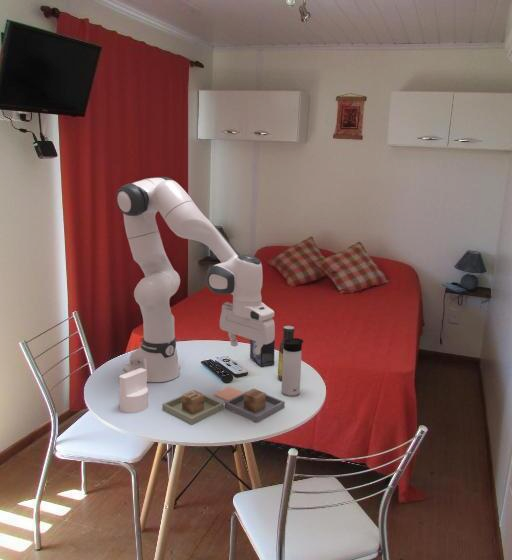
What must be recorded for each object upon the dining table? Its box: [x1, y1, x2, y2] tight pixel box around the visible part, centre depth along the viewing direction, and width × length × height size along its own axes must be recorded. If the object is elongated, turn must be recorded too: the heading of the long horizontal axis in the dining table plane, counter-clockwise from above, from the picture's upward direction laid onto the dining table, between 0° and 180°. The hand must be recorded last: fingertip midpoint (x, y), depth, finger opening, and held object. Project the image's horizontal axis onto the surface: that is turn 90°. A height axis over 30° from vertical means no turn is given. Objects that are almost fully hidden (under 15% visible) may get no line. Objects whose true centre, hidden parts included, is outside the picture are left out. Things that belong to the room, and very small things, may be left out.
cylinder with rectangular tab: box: [118, 368, 149, 414], centre depth 167 cm, size 9×9×12 cm
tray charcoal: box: [224, 388, 286, 424], centre depth 169 cm, size 14×14×2 cm
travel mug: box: [281, 337, 304, 398], centre depth 179 cm, size 6×7×20 cm
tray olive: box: [162, 390, 225, 426], centre depth 167 cm, size 14×14×2 cm
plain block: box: [244, 388, 267, 413], centre depth 169 cm, size 5×5×5 cm
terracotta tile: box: [212, 386, 245, 402], centre depth 178 cm, size 8×8×1 cm
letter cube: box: [181, 390, 205, 415], centre depth 167 cm, size 5×5×5 cm
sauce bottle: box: [277, 325, 295, 381], centre depth 191 cm, size 7×6×20 cm
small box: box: [249, 339, 276, 368], centre depth 207 cm, size 11×6×10 cm, turn 25°
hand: (245, 349), depth 165 cm, fingers open, 8 cm apart
